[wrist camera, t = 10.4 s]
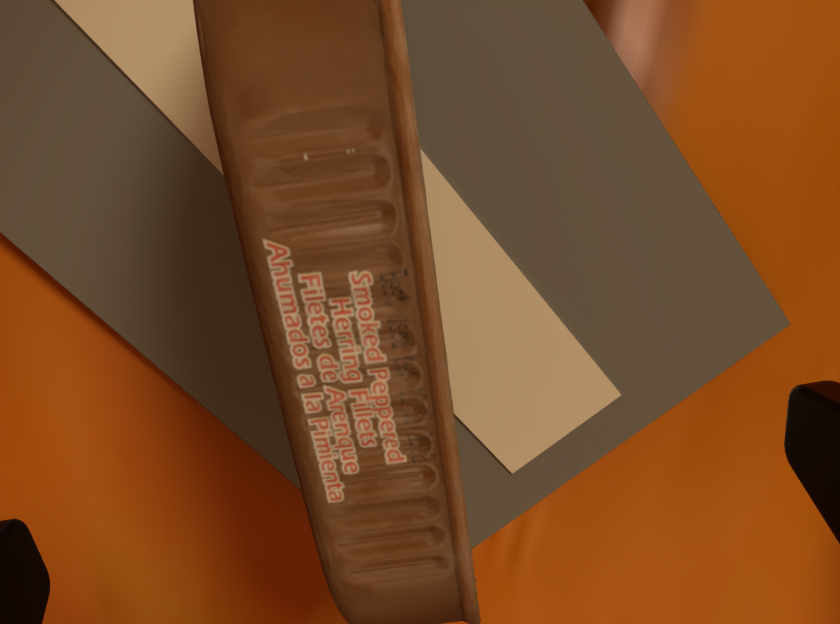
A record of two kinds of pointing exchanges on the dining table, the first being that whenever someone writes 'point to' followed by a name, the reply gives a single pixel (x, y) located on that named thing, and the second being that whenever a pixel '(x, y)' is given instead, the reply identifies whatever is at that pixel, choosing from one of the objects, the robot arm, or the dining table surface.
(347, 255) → the tin
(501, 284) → the mat
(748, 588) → the dining table surface
